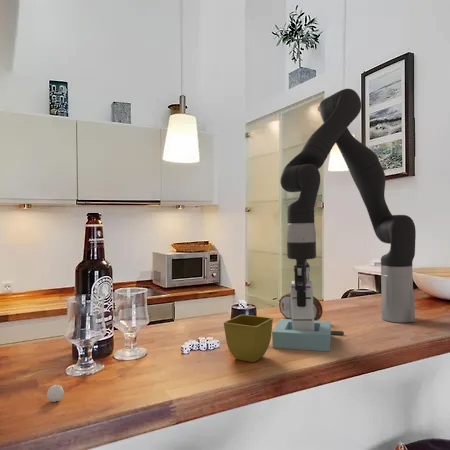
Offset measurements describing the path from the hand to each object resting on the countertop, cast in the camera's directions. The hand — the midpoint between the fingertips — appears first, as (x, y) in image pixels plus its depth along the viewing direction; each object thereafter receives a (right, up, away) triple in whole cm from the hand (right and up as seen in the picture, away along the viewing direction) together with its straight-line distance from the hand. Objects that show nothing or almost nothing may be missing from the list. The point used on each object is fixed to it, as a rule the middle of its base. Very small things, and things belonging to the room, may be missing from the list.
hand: (302, 303), depth 106 cm
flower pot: (-15, -10, -12) cm, 22 cm away
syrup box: (0, -9, 0) cm, 9 cm away
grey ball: (-51, -11, -33) cm, 62 cm away
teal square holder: (0, -10, 0) cm, 10 cm away
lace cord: (+3, -10, +8) cm, 13 cm away
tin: (+4, -10, +23) cm, 25 cm away
